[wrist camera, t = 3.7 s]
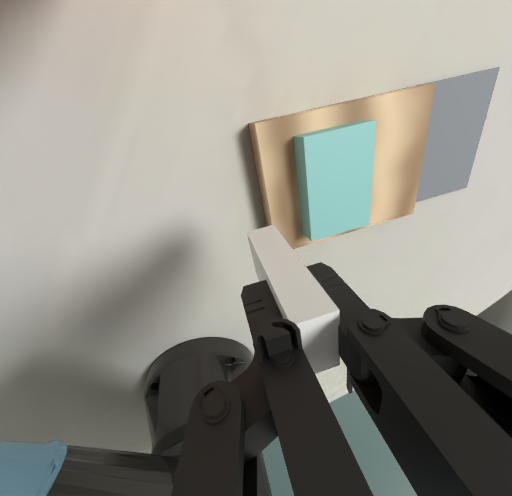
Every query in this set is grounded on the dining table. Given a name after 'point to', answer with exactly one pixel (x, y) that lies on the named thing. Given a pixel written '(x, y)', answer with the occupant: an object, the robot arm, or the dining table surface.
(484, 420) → the robot arm
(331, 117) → the tan wooden board
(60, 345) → the dining table surface
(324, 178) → the turquoise rectangular block
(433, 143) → the mat
